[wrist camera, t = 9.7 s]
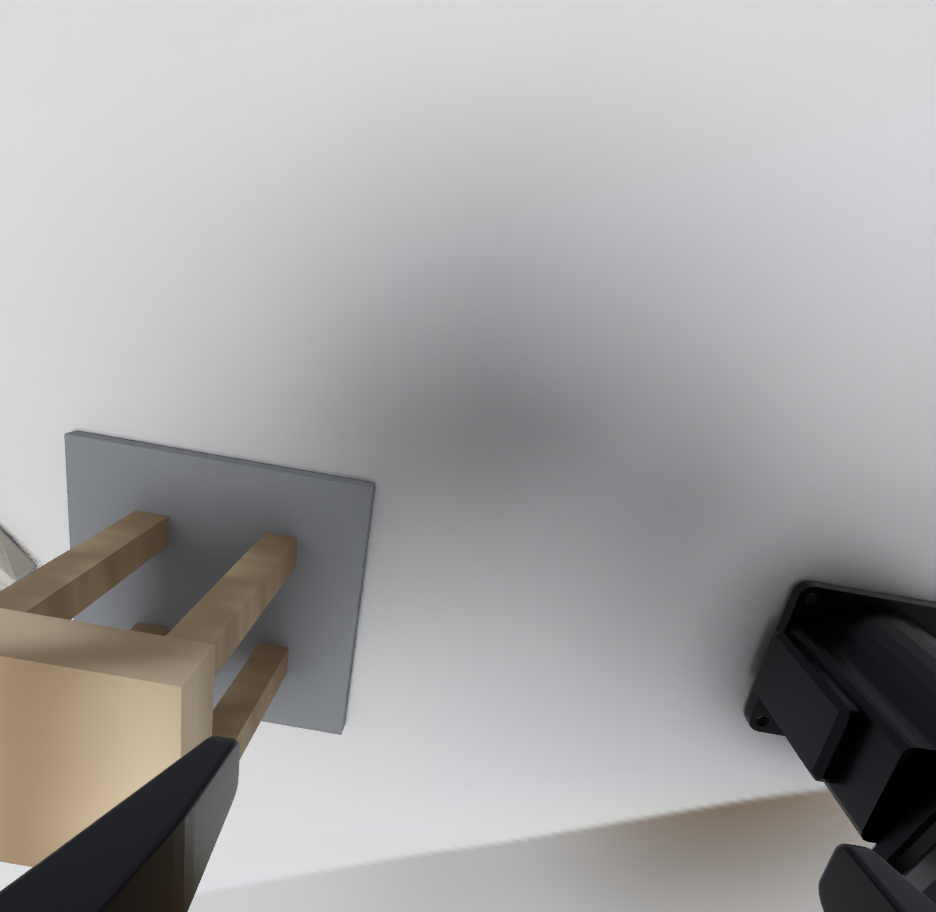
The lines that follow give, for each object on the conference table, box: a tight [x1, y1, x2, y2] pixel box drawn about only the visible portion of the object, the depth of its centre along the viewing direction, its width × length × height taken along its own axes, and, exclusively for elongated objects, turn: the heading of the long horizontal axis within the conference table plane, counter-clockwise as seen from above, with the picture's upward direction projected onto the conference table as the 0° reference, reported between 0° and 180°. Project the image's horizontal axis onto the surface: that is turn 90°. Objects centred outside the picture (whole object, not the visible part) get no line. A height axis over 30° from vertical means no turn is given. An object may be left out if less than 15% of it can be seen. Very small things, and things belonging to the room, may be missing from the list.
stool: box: [0, 510, 298, 867], centre depth 17 cm, size 6×6×8 cm
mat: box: [64, 431, 375, 735], centre depth 21 cm, size 11×11×1 cm
